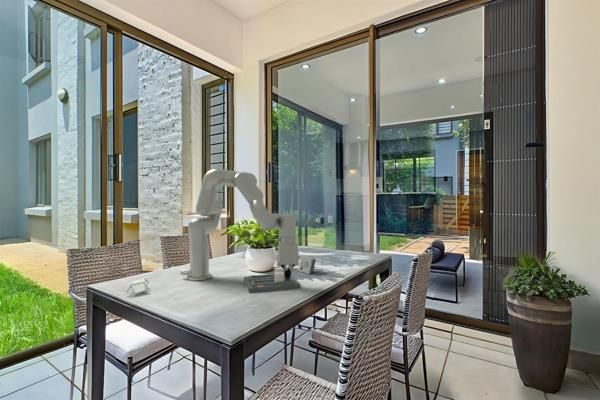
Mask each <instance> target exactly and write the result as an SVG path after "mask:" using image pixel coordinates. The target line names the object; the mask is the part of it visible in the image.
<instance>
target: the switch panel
mask: <svg viewBox="0 0 600 400" xmlns="http://www.w3.org/2000/svg"><path fill="white" fill-rule="evenodd" d="M243 281H244V284H245V286H246V289H247V291H248V293H252V294H253V293H262V292H274V291H285V290H297V288H299V289H301V283H300V282H299V281H298V280H297V279H296V278H295V277H294V276H293V275H292V274H291V276H290V279H286V278H285V276H284V281H281V282H274V273H270V274H269V273H268V274H258V275H256V274H255V275H253V274H252V275H248V276H243Z"/></svg>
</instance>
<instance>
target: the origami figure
mask: <svg viewBox="0 0 600 400" xmlns="http://www.w3.org/2000/svg"><path fill="white" fill-rule="evenodd" d="M149 283H150V282H149V280H147V278H146V277H145V278H140V279H136V280H134V281H131V283H130V284H129V287H128V289H127V290H126V293H129V294H131V295H132V293H133V292H134V288H133V286H136V285H141V284H142V285H144V290H143V291H144V293H145V292H146V293H147V291H146V290H147V289H148V288H149V287H148V284H149ZM130 289H131V290H132V292H130V291H129V290H130Z"/></svg>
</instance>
